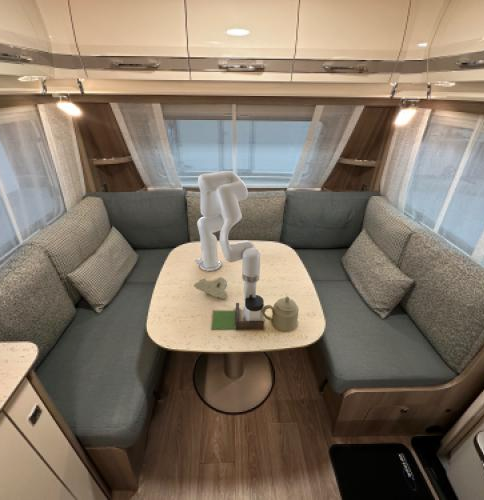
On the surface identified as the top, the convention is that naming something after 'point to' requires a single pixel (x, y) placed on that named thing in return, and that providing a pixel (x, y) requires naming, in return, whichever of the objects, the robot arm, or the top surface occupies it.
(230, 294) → the top surface
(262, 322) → the corner rail
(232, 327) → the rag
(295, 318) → the sugar bowl
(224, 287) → the khaki irregular lump
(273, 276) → the top surface
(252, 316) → the jar
